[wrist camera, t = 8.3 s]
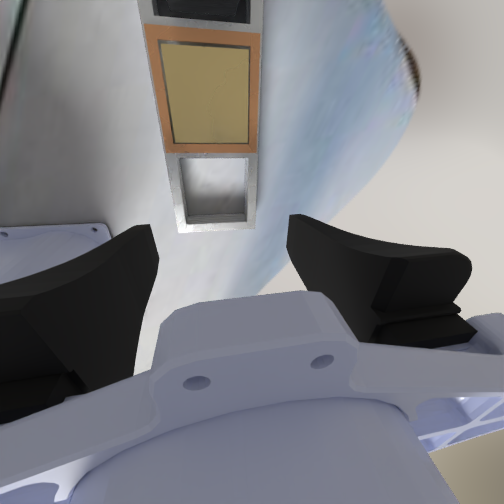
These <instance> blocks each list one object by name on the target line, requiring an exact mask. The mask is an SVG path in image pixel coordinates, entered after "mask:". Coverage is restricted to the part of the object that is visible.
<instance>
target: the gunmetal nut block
mask: <svg viewBox="0 0 504 504" xmlns="http://www.w3.org/2000/svg"><path fill="white" fill-rule="evenodd" d="M167 3H168V5H169V8H170V11H175V12H186V13H197V14H208V15H219V16H230V17H235V13H236V10H237V6H238V3H239V0H167Z"/></svg>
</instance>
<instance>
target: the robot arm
mask: <svg viewBox="0 0 504 504" xmlns="http://www.w3.org/2000/svg"><path fill="white" fill-rule="evenodd" d="M93 227H94V228H96V229H97V231H96V230H94V229H93ZM4 232H6V233H7V234H8V235H7V234H5V233H4ZM286 248H287V251H288V254H289V256H290V259H291V261H292V263H293V265H294V267H295V268H296V271H297V272H298V274H299V276H300V278H301V279H302V281H303V283H304V285H305V286H306V288H307V290H308V291H301V290H300V291H292V292H283V293H275V294H266V295H258V296H250V297H241V298H233V299H224V300H216V301H208V302H199V303H196V304H193V305H190V306H187V307H183V308H180V309H177V310H175V311H174V312H173V313H172V314H171V315H170V316H169V317H168V318H167V319H166V320H164V321H163V322H162V323H161V325H160V330H159V334H158V339H157V344H156V348H155V353H154V357H153V362H152V367H151V369H150V370H148V371H145V372H143V373H140V374H137V375H135V376H133V373H134V366H135V359H136V353H137V347H138V341H139V335H140V330H141V325H142V320H143V316H144V312H145V309H146V306H147V303H148V300H149V297H150V294H151V291H152V288H153V285H154V282H155V279H156V275H157V271H158V264H159V255H158V252H157V248H156V245H155V241H154V237H153V234H152V230H151V226H150V224H145V225H136V226H133V227H131V228H129V229H127V230H126V231H124V232H122V233H121V234H119V235H117V236H116V237H114V238H111V235H110V233H109V230H108V228H107V226H106V225H105V224H103V223H90V224H68V225H46V226H23V227H1V228H0V504H460V503H459V502H458V500H457V499H456V497H455V495H454V494H453V492H452V491H451V489H450V487H449V486H448V484H447V483H446V481H445V480H444V478H443V477H442V475H441V473H440V472H439V470H438V469H437V467H436V466H435V464H434V462H433V461H432V459H431V458H430V456H429V454H428V453H430V452H433V451H436V450H439V449H442V448H445V447H448V446H451V445H454V444H457V443H460V442H463V441H466V440H469V439H472V438H475V437H479V436H482V435H485V434H488V433H491V432H495V431H498V430H502V429H504V315H503V314H502V313H491V314H485V315H479V316H474V317H471V318H469V319H467V320H466V321H465V320H464V319H463V318H461V317H460V316H459V315H458V314H457V313H460V312H461V308H460V307H458V306H457V305H456V304H454V303H453V301H454V300H455V298H456V297H457V296H458V294H459V293H460V291H461V290H462V289H463V287H464V286H465V284H466V283H467V281H468V279H469V277H470V275H471V271H472V264H471V261H470V260H469V258H468V257H466V256H465V255H463V254H461V253H459V252H458V251H456V250H454V249H450V248H437V247H422V246H412V245H404V244H397V243H391V242H385V241H380V240H375V239H370V238H366V237H363V236H359V235H355V234H352V233H349V232H346V231H343V230H340V229H338V228H335V227H333V226H330V225H328V224H325V223H323V222H321V221H318V220H316V219H313V218H311V217H308V216H306V215H302V214H295V215H290V216H289V226H288V235H287V245H286Z"/></svg>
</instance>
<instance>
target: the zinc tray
mask: <svg viewBox="0 0 504 504" xmlns="http://www.w3.org/2000/svg"><path fill="white" fill-rule="evenodd" d="M137 2H138V7H139V13H140V19H141V24H142V30H143V35H144V41H145V47H146V52H147V58H148V64H149V69H150V75H151V80H152V86H153V92H154V97H155V103H156V108H157V114H158V120H159V125H160V131H161V137H162V142H163V148H164V153H165V159H166V165H167V170H168V176H169V181H170V187H171V193H172V198H173V204H174V209H175V215H176V221H177V226H178V232H179V233H183V232H202V231H221V230H239V229H255V220H256V193H257V165H258V138H259V111H260V84H261V57H262V30H263V2H264V0H246V24H242V23H231V22H220V21H209V20H197V19H186V18H175V17H164V16H159V14H158V7H157V0H137ZM161 44H175V45H189V46H204V47H218V48H233V49H247V50H249V72H248V143H175V136H174V129H173V123H172V116H171V109H170V103H169V96H168V90H167V83H166V76H165V70H164V63H163V56H162V50H161ZM180 158H245V213H238V214H215V215H191V216H188V213H187V207H186V200H185V193H184V186H183V179H182V172H181V165H180Z"/></svg>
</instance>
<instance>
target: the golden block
mask: <svg viewBox="0 0 504 504" xmlns="http://www.w3.org/2000/svg"><path fill="white" fill-rule="evenodd" d="M161 50H162V56H163V63H164V70H165V76H166V83H167V90H168V96H169V103H170V109H171V116H172V123H173V129H174V136H175V143H248V72H249V50H247V49H233V48H218V47H204V46H189V45H175V44H161Z"/></svg>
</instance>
